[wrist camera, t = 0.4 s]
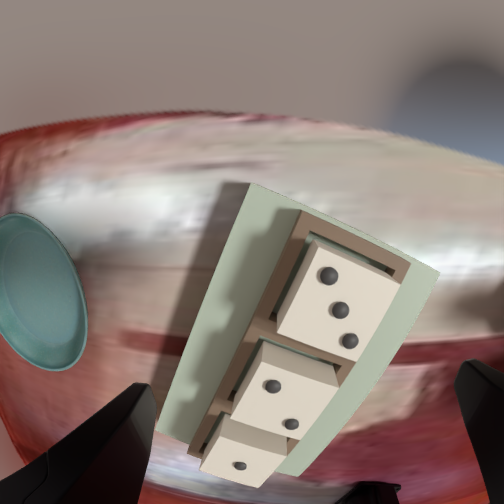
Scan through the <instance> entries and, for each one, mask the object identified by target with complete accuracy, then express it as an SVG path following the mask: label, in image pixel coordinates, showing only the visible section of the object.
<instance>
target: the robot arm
mask: <svg viewBox="0 0 504 504" xmlns="http://www.w3.org/2000/svg"><path fill="white" fill-rule="evenodd" d="M454 389H455V392H456V395H457V399H458V402H459V406H460V409H461V412H462V416H463V420H464V423H465V427H466V429H467V432H468V435H469V438H470V440H471V443H472V446H473V449H474V452H475V454H476V457H477V460H478V463H479V466H480V469H481V473H482V476H483V479H484V482H485V486H486V489H487V493H488V496H489V500H490V504H504V373H502V372H500V371H498V370H496V369H494V368H492V367H490V366H488V365H486V364H485V363H483V362H481V361H479V360H477V359H469V360H465V361H463V362H462V364H461V366H460V368H459V371H458V373H457V376H456V378H455V380H454ZM156 413H157V404H156V401H155V398H154V395H153V393H152V390H151V387H150V385H149V384H147V383H137V382H136V383H133V384H132V385H131V386H129V387H128V388H127V389H126V390H124V391H123V392H122V393H120V394H119V395H118V396H117V397H115V398H114V399H113V400H112V401H110V402H109V403H108V404H107V405H105V406H104V407H103V408H102V409H100V410H99V411H98V412H96V413H95V414H94V415H93V416H91V417H90V418H89V419H87V420H86V421H85V422H84V423H82V424H81V425H80V426H78V427H77V428H76V429H75V430H73V431H72V432H71V433H69V434H68V435H67V436H65V437H64V438H63V439H61V440H60V441H59V442H58V443H56V444H55V445H54V446H52V447H51V448H50V449H48V450H47V452H44V453H43V454H41V455H40V456H39V457H37V458H36V459H35V460H33V461H32V462H30V463H29V464H28V465H26V466H25V467H23V468H21V469H20V470H18V471H16V472H15V473H13V474H12V475H10V476H8V477H6V478H4V479H3V480H1V481H0V504H137V503H138V500H139V496H140V492H141V488H142V484H143V480H144V477H145V473H146V469H147V465H148V462H149V458H150V452H151V446H152V439H153V432H154V426H155V419H156ZM400 489H401V485H395V484H380V483H368V482H362V483H359V484H358V485H357V486H356V487H355V488H354V489H352V490H351V491H350V492H349V493H348V494H347V495H345V496H344V497H343V498H342V499H341V500H339V501H338V502H337V503H336V504H399V501H398V498H397V494H396V493H397V492H398V491H399V490H400Z"/></svg>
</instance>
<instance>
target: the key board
mask: <svg viewBox="0 0 504 504" xmlns="http://www.w3.org/2000/svg"><path fill="white" fill-rule="evenodd" d="M313 239H315V240H317V241H319V242H321V243H323V244H326V245H328V246H330V247H332V248H334V249H337V250H339V251H341V252H343V253H345V254H348V255H350V256H352V257H354V258H356V259H358V260H361V261H363V262H365V263H367V264H369V265H371V266H373V267H376V268H378V269H380V270H382V271H384V272H386V273H387V274H388V275H390V276H391V277H392V278H393V279H394V280H396V281H397V282H398V283H399V284H400V287H399V289H398V291H397V293H396V295H395V297H394V299H393V301H392V302H391V304H390V306H389V308H388V310H387V312H386V313H385V315H384V317H383V319H382V321H381V322H380V324H379V326H378V328H377V329H376V331H375V333H374V334H373V336H372V338H371V339H370V341H369V343H368V344H367V346H366V348H365V349H364V351H363V353H362V354H361V356H360V357H359V359H358V361H357V362H355V361H352V360H349V359H346V358H344V357H341V356H338V355H335V354H332V353H329V352H327V351H324V350H321V349H318V348H316V347H313V346H310V345H308V344H305V343H302V342H300V341H297V340H294V339H292V338H289V337H287V336H284V335H282V334H279V333H277V313H278V311H279V309H280V307H281V305H282V303H283V301H284V299H285V297H286V295H287V293H288V291H289V289H290V287H291V284H292V282H293V280H294V278H295V276H296V274H297V272H298V270H299V268H300V265H301V263H302V261H303V259H304V257H305V255H306V253H307V250H308V248H309V246H310V244H311V242H312V240H313ZM439 275H440V272H438V271H436V270H434V269H433V268H431V267H429V266H427V265H426V264H424V263H422V262H420V261H418V260H416V259H414V258H412V257H411V256H409V255H407V254H405V253H403V252H401V251H399V250H397V249H395V248H393V247H391V246H389V245H387V244H385V243H383V242H381V241H379V240H377V239H375V238H373V237H371V236H369V235H367V234H365V233H363V232H361V231H359V230H357V229H355V228H353V227H351V226H349V225H346V224H344V223H342V222H340V221H338V220H336V219H334V218H332V217H329V216H327V215H325V214H323V213H321V212H319V211H316V210H314V209H312V208H310V207H308V206H305V205H303V204H301V203H299V202H296V201H294V200H292V199H289V198H287V197H285V196H283V195H280V194H278V193H276V192H273V191H271V190H269V189H266V188H264V187H262V186H259V185H257V184H254V183H251V185H250V187H249V189H248V192H247V194H246V196H245V199H244V201H243V204H242V206H241V208H240V211H239V213H238V216H237V218H236V220H235V223H234V225H233V228H232V230H231V233H230V235H229V237H228V240H227V242H226V245H225V247H224V250H223V252H222V255H221V257H220V260H219V262H218V265H217V267H216V270H215V272H214V275H213V277H212V280H211V282H210V285H209V287H208V290H207V292H206V295H205V297H204V300H203V303H202V305H201V308H200V310H199V313H198V315H197V318H196V321H195V323H194V326H193V328H192V331H191V334H190V336H189V339H188V341H187V344H186V347H185V349H184V352H183V355H182V357H181V360H180V363H179V365H178V368H177V371H176V373H175V376H174V379H173V381H172V384H171V387H170V390H169V392H168V395H167V398H166V401H165V403H164V406H163V409H162V412H161V414H160V417H159V420H158V423H157V426H156V428H155V430H156V431H158V432H161V433H163V434H165V435H167V436H170V437H172V438H175V439H177V440H179V441H182V442H184V443H187V444H189V445H190V446H189V448H188V451H187V454H189V455H192V456H194V457H197V458H200V459H202V457H203V454H204V450H205V448H206V446H207V445H208V443H209V441H210V439H211V438H212V436H213V434H214V432H215V431H216V429H217V427H218V425H219V423H220V422H221V420H222V418H223V416H224V414H228V415H231V411H232V407H233V402H234V397H235V394H236V393H237V391H238V389H239V387H240V385H241V383H242V381H243V379H244V378H245V376H246V374H247V372H248V370H249V368H250V366H251V364H252V362H253V361H254V359H255V357H256V355H257V353H258V351H259V349H260V347H261V345H262V343H263V341H266V342H268V343H271V344H273V345H276V346H279V347H281V348H284V349H287V350H289V351H292V352H295V353H297V354H300V355H303V356H306V357H308V358H311V359H314V360H317V361H320V362H322V363H325V364H328V365H331V366H333V368H334V371H335V375H336V378H337V382H338V385H339V389H338V391H337V392H336V393H335V395H334V396H333V398H332V399H331V400H330V402H329V403H328V405H327V406H326V407H325V409H324V410H323V411H322V413H321V414H320V416H319V417H318V418H317V420H316V421H315V422H314V423H313V425H312V426H311V427H310V429H309V430H308V431H307V432H306V434H305V435H304V436H303V437H302V439H301V440H297V439H294V438H290V437H287V457H286V458H285V459H284V460H283V461H282V463H281V464H280V465H279V466H278V467H277V468H276V469H275V471H274V472H279V473H283V474H287V475H292V476H296V477H298V476H299V475H300V474H301V473H302V472H303V471H304V470H305V469H306V468H307V467H308V466H309V465H310V464H311V463H312V462H313V461H314V460H315V459H316V458H317V456H318V455H319V454H320V453H321V452H322V451H323V450H324V449H325V447H326V446H327V445H328V444H329V443H330V442H331V441H332V439H333V438H334V437H335V436H336V435H337V433H338V432H339V431H340V430H341V429H342V427H343V426H344V425H345V424H346V422H347V421H348V420H349V419H350V417H351V416H352V415H353V414H354V412H355V411H356V410H357V408H358V407H359V406H360V404H361V403H362V402H363V400H364V399H365V398H366V396H367V395H368V394H369V392H370V391H371V390H372V388H373V387H374V385H375V384H376V382H377V381H378V380H379V378H380V377H381V375H382V374H383V372H384V371H385V369H386V368H387V366H388V365H389V363H390V362H391V360H392V359H393V357H394V356H395V354H396V352H397V351H398V349H399V348H400V346H401V344H402V343H403V341H404V339H405V338H406V336H407V334H408V333H409V331H410V329H411V328H412V326H413V324H414V322H415V321H416V319H417V317H418V315H419V313H420V312H421V310H422V308H423V306H424V304H425V302H426V301H427V299H428V297H429V295H430V293H431V291H432V289H433V287H434V285H435V283H436V281H437V279H438V277H439Z"/></svg>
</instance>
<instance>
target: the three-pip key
mask: <svg viewBox="0 0 504 504" xmlns="http://www.w3.org/2000/svg"><path fill="white" fill-rule="evenodd" d="M399 287H400V284H399V283H398V282H397V281H396V280H394V279H393V278H392V277H391V276H390V275H388V274H387V273H386V272H384V271H382V270H380V269H378V268H376V267H373V266H371V265H369V264H367V263H365V262H363V261H361V260H358V259H356V258H354V257H352V256H350V255H348V254H345V253H343V252H341V251H339V250H337V249H334V248H332V247H330V246H328V245H326V244H323V243H321V242H319V241H317V240H315V239H313V240H312V242H311V244H310V246H309V248H308V250H307V253H306V255H305V257H304V259H303V261H302V263H301V265H300V268H299V270H298V272H297V274H296V276H295V278H294V280H293V282H292V284H291V287H290V289H289V291H288V293H287V295H286V297H285V299H284V301H283V303H282V305H281V307H280V309H279V311H278V313H277V333H279V334H282V335H284V336H287V337H289V338H292V339H294V340H297V341H300V342H302V343H305V344H308V345H310V346H313V347H316V348H318V349H321V350H324V351H327V352H329V353H332V354H335V355H338V356H341V357H344V358H346V359H349V360H352V361H355V362H357V361H358V359H359V357H360V356H361V354H362V353H363V351H364V349H365V348H366V346H367V344H368V343H369V341H370V339H371V338H372V336H373V334H374V333H375V331H376V329H377V328H378V326H379V324H380V322H381V321H382V319H383V317H384V315H385V313H386V312H387V310H388V308H389V306H390V304H391V302H392V301H393V299H394V297H395V295H396V293H397V291H398V289H399Z"/></svg>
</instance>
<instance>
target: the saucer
mask: <svg viewBox="0 0 504 504" xmlns="http://www.w3.org/2000/svg"><path fill="white" fill-rule="evenodd" d="M87 332H88V311H87V303H86V298H85V293H84V289H83V286H82V282H81V279H80V277H79V274H78V272H77V269H76V267H75V265H74V263H73V261H72V259H71V257H70V256H69V254H68V252H67V251H66V249H65V248H64V246H63V245H62V244H61V242H60V241H59V240H58V239H57V237H56V236H55V235H54V234H53V233H52V232H51V231H50V230H49V229H48V228H47V227H46V226H44V225H43V224H42V223H41V222H39V221H38V220H36V219H35V218H33V217H31V216H28V215H26V214H21V213H11V214H7V215H4V216H2V217H1V218H0V333H1V334H2V336H3V337H4V338H5V340H6V341H7V342H8V343H9V345H10V346H11V347H12V348H13V349H14V350H15V351H16V352H17V353H18V354H19V355H20V356H21V357H22V358H24V359H25V360H27V361H28V362H29V363H31V364H33V365H35V366H37V367H39V368H41V369H45V370H50V371H63V370H66V369H68V368H70V367H72V366H73V365H74V364H76V363H77V361H78V360H79V359H80V357H81V355H82V354H83V351H84V349H85V345H86V341H87Z"/></svg>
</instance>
